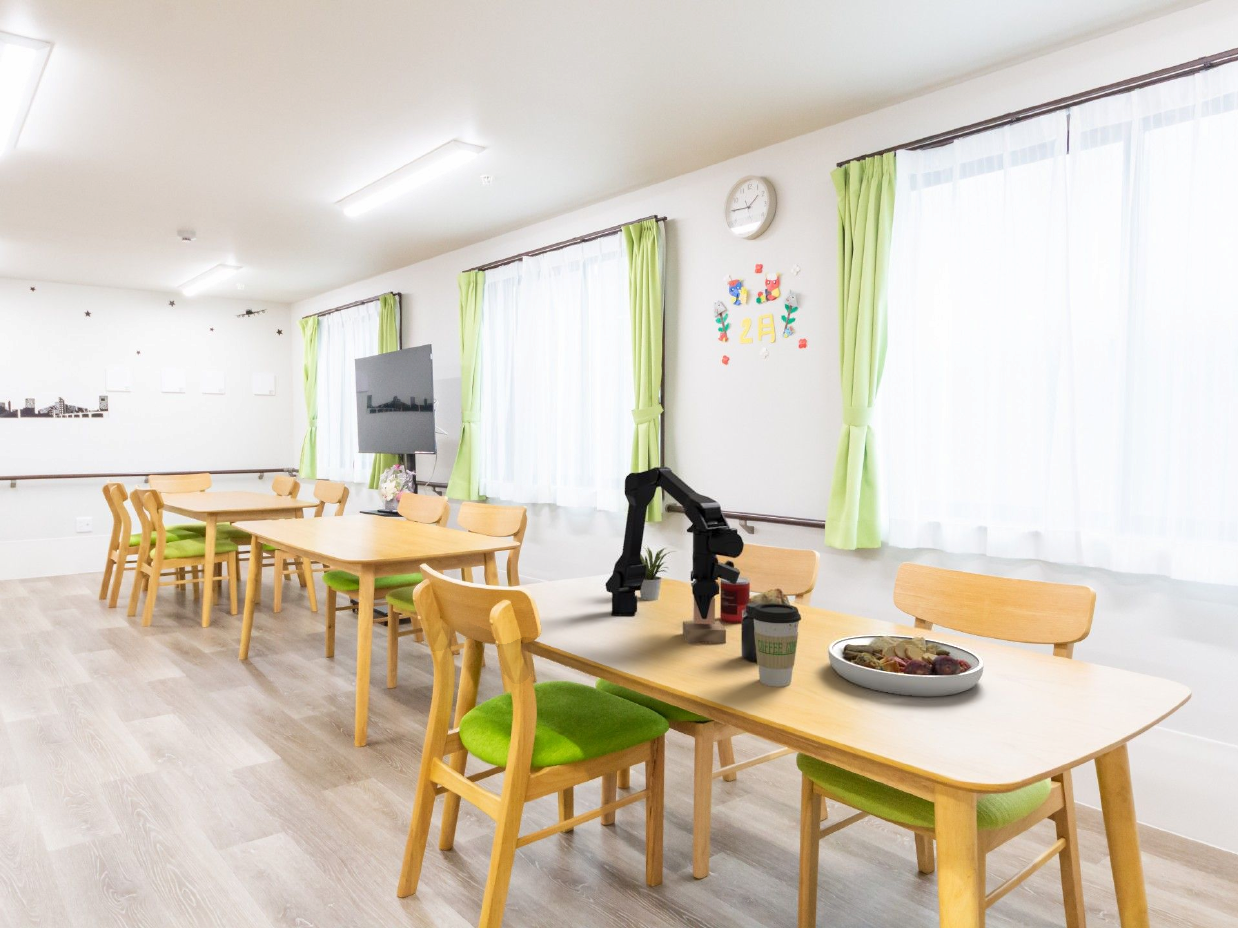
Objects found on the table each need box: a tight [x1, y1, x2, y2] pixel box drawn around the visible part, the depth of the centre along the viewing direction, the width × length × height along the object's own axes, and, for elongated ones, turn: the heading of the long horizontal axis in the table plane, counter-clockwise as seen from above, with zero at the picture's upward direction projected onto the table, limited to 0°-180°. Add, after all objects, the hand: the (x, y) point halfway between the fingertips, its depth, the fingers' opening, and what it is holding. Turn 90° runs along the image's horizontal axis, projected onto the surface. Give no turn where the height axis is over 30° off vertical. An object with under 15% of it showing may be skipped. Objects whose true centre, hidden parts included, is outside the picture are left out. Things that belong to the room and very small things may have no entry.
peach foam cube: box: [692, 596, 716, 624], centre depth 191 cm, size 5×5×6 cm
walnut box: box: [682, 620, 727, 645], centre depth 191 cm, size 9×9×4 cm
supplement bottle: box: [740, 603, 763, 663], centre depth 174 cm, size 7×7×12 cm
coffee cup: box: [751, 603, 802, 688], centre depth 158 cm, size 10×10×15 cm
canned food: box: [719, 576, 751, 624], centre depth 209 cm, size 8×8×11 cm
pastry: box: [749, 588, 791, 605], centre depth 213 cm, size 14×12×8 cm
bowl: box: [827, 634, 984, 697], centre depth 162 cm, size 30×30×8 cm
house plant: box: [639, 545, 677, 601], centre depth 235 cm, size 14×14×16 cm
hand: (703, 616), depth 191 cm, fingers closed on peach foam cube, 5 cm apart
